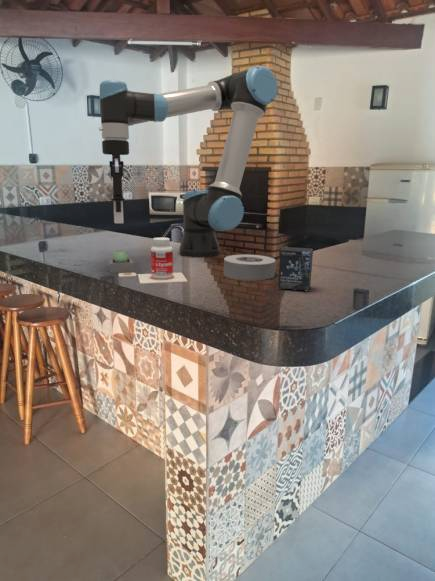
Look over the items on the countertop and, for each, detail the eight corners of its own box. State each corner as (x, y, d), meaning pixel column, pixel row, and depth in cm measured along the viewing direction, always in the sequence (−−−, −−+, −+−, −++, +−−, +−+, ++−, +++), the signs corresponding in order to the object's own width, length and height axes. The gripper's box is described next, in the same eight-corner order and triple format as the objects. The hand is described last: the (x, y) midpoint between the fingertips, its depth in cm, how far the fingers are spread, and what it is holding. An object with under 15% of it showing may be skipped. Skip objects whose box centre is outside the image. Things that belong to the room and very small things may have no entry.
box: (277, 289, 115) (279, 249, 112) (281, 284, 120) (283, 246, 117) (308, 292, 113) (310, 251, 110) (310, 287, 118) (313, 247, 115)
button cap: (127, 263, 138) (127, 251, 137) (128, 266, 134) (127, 253, 133) (114, 264, 137) (114, 251, 136) (114, 266, 133) (114, 253, 132)
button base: (132, 267, 140) (132, 258, 139) (133, 272, 133) (133, 262, 133) (110, 268, 138) (109, 259, 138) (109, 273, 132) (109, 263, 131)
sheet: (181, 273, 133) (181, 272, 133) (187, 281, 122) (187, 280, 122) (137, 275, 130) (137, 273, 130) (140, 284, 119) (140, 282, 119)
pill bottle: (154, 280, 122) (153, 240, 119) (149, 275, 128) (147, 237, 125) (176, 278, 124) (175, 239, 122) (169, 273, 130) (168, 236, 127)
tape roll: (285, 275, 132) (286, 259, 131) (252, 284, 121) (252, 266, 120) (246, 268, 142) (246, 252, 141) (212, 275, 132) (212, 258, 131)
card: (135, 273, 132) (135, 272, 132) (136, 276, 128) (136, 275, 128) (118, 274, 131) (118, 272, 131) (118, 277, 127) (118, 275, 127)
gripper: (102, 141, 131) (106, 221, 137) (101, 137, 119) (105, 225, 125) (127, 142, 133) (130, 220, 139) (129, 138, 121) (132, 225, 127)
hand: (118, 223), depth 132 cm, fingers closed
